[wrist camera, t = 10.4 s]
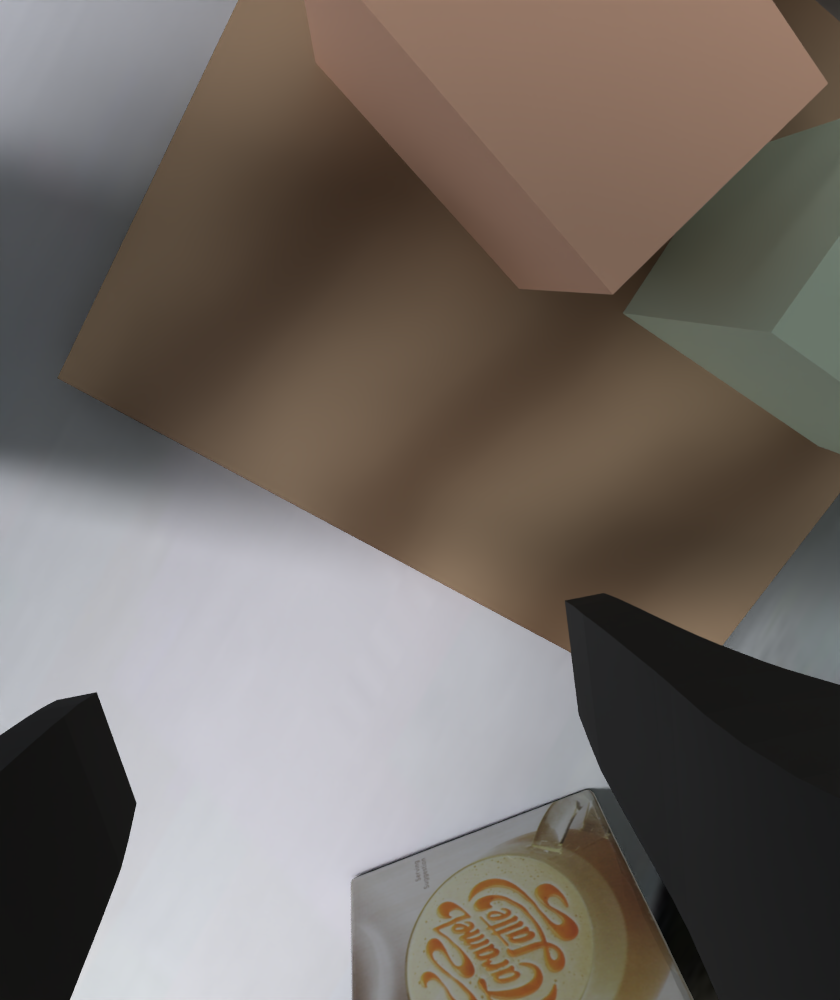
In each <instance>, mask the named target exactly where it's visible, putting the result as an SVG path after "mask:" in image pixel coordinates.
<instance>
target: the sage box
mask: <svg viewBox="0 0 840 1000" xmlns="http://www.w3.org/2000/svg"><path fill="white" fill-rule="evenodd" d="M623 314H624V315H626V316H627V317H629V318H630V319H632V320H633V321H635V322H636V323H638V324H639V325H641V326H642V327H644V328H645V329H647V330H648V331H649V332H651V333H652V334H654V335H655V336H657V337H658V338H660V339H661V340H663V341H664V342H666V343H667V344H669V345H670V346H672V347H673V348H675V349H676V350H677V351H679V352H680V353H682V354H683V355H685V356H686V357H688V358H689V359H691V360H692V361H694V362H695V363H697V364H698V365H700V366H701V367H703V368H704V369H705V370H707V371H708V372H710V373H711V374H713V375H714V376H716V377H717V378H719V379H720V380H722V381H723V382H725V383H726V384H728V385H729V386H730V387H732V388H733V389H735V390H736V391H738V392H739V393H741V394H742V395H744V396H745V397H747V398H748V399H750V400H751V401H753V402H754V403H756V404H757V405H758V406H760V407H761V408H763V409H764V410H766V411H767V412H769V413H770V414H772V415H773V416H775V417H776V418H778V419H779V420H781V421H782V422H783V423H785V424H786V425H788V426H789V427H791V428H792V429H794V430H795V431H797V432H798V433H800V434H801V435H803V436H804V437H806V438H807V439H809V440H810V441H811V442H813V443H814V444H816V445H817V446H819V447H822V448H825V449H828V450H831V451H833V452H836V453H839V454H840V119H837V120H834V121H831V122H828V123H825V124H822V125H819V126H816V127H813V128H810V129H807V130H804V131H801V132H798V133H795V134H792V135H789V136H786V137H783V138H780V139H777V140H774V141H771V142H768V143H767V144H766V145H765V146H764V147H763V148H762V149H761V150H760V151H759V152H758V153H757V154H756V155H755V156H754V157H753V158H752V159H751V160H750V161H749V162H748V163H747V164H746V165H745V166H744V167H742V168H741V169H740V170H739V171H738V172H737V173H736V174H735V175H734V176H733V177H732V178H731V179H730V180H729V181H728V182H727V183H726V184H725V185H724V186H723V187H722V188H721V189H720V190H719V191H718V192H717V193H716V194H715V195H714V196H713V197H712V198H711V199H710V200H709V201H708V202H707V203H706V204H705V205H704V206H703V207H702V208H701V209H700V210H699V211H698V212H697V213H696V214H695V215H694V216H693V217H691V218H690V219H689V220H688V221H687V222H686V223H685V224H684V225H683V226H682V227H681V228H680V229H679V230H678V231H677V232H676V233H675V234H674V236H673V237H672V239H671V240H670V242H669V244H668V245H667V247H666V248H665V250H664V251H663V253H662V254H661V256H660V257H659V259H658V260H657V262H656V263H655V265H654V266H653V268H652V269H651V271H650V273H649V274H648V276H647V277H646V279H645V280H644V282H643V283H642V285H641V286H640V288H639V289H638V291H637V292H636V294H635V295H634V297H633V299H632V300H631V302H630V303H629V305H628V306H627V308H626V309H625V311H624V312H623Z"/></svg>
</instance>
